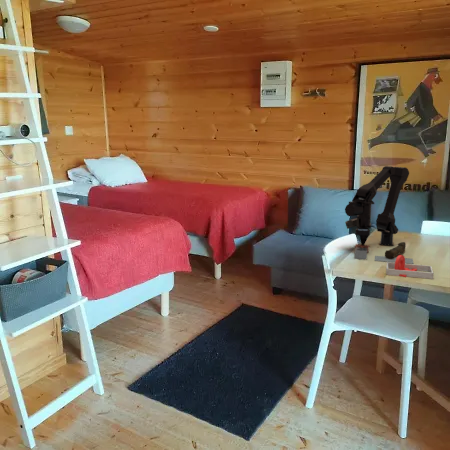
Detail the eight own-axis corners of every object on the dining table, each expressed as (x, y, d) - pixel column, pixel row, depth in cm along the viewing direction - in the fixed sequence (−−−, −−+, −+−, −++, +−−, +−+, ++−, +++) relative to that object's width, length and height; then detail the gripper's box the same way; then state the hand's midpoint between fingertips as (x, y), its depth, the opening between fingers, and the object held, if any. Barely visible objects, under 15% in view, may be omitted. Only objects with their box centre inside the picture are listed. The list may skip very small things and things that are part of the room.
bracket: (405, 278, 174) (406, 259, 172) (393, 275, 177) (395, 256, 176) (417, 271, 182) (419, 253, 181) (406, 269, 186) (408, 250, 184)
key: (355, 250, 211) (355, 244, 210) (368, 251, 209) (368, 245, 208) (354, 254, 205) (354, 247, 204) (367, 255, 203) (368, 248, 202)
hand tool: (392, 259, 196) (393, 249, 195) (384, 258, 199) (385, 248, 198) (410, 252, 210) (411, 242, 209) (402, 250, 212) (402, 241, 211)
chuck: (355, 255, 204) (355, 247, 203) (366, 256, 203) (367, 248, 202) (354, 258, 200) (355, 250, 199) (366, 259, 198) (366, 250, 197)
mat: (374, 256, 203) (374, 255, 203) (412, 259, 198) (412, 258, 198) (374, 260, 196) (374, 260, 196) (413, 264, 191) (413, 263, 191)
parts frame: (386, 267, 186) (386, 262, 186) (430, 271, 181) (431, 265, 180) (386, 274, 177) (386, 269, 177) (433, 278, 172) (433, 273, 171)
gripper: (348, 209, 223) (347, 240, 226) (345, 216, 205) (343, 249, 209) (371, 211, 219) (369, 241, 222) (370, 218, 202) (368, 251, 205)
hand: (362, 245), depth 215 cm, fingers closed
